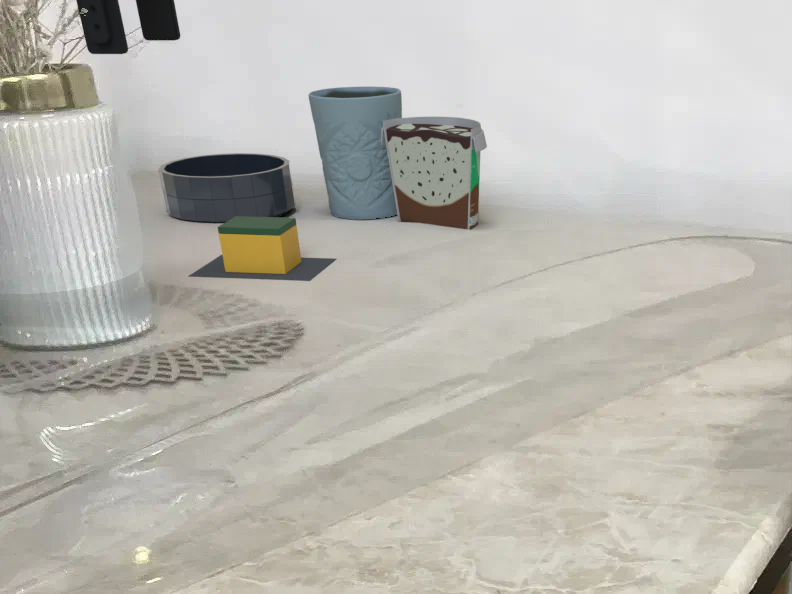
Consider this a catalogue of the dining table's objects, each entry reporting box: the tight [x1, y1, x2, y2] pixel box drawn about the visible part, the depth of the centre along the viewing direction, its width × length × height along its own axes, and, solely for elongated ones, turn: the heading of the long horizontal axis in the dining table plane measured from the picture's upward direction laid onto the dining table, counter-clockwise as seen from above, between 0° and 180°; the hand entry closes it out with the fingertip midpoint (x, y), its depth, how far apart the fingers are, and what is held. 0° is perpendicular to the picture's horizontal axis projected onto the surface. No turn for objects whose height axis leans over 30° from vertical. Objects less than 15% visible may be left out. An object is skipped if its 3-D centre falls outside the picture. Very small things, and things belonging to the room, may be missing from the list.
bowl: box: [158, 152, 296, 223], centre depth 128 cm, size 14×14×5 cm
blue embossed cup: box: [307, 86, 403, 220], centre depth 127 cm, size 10×10×12 cm
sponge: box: [217, 216, 302, 274], centre depth 108 cm, size 6×4×4 cm
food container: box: [381, 116, 488, 231], centre depth 122 cm, size 12×6×10 cm, turn 59°
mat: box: [187, 254, 338, 282], centre depth 109 cm, size 12×8×1 cm, turn 81°
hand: (136, 46), depth 94 cm, fingers open, 9 cm apart
